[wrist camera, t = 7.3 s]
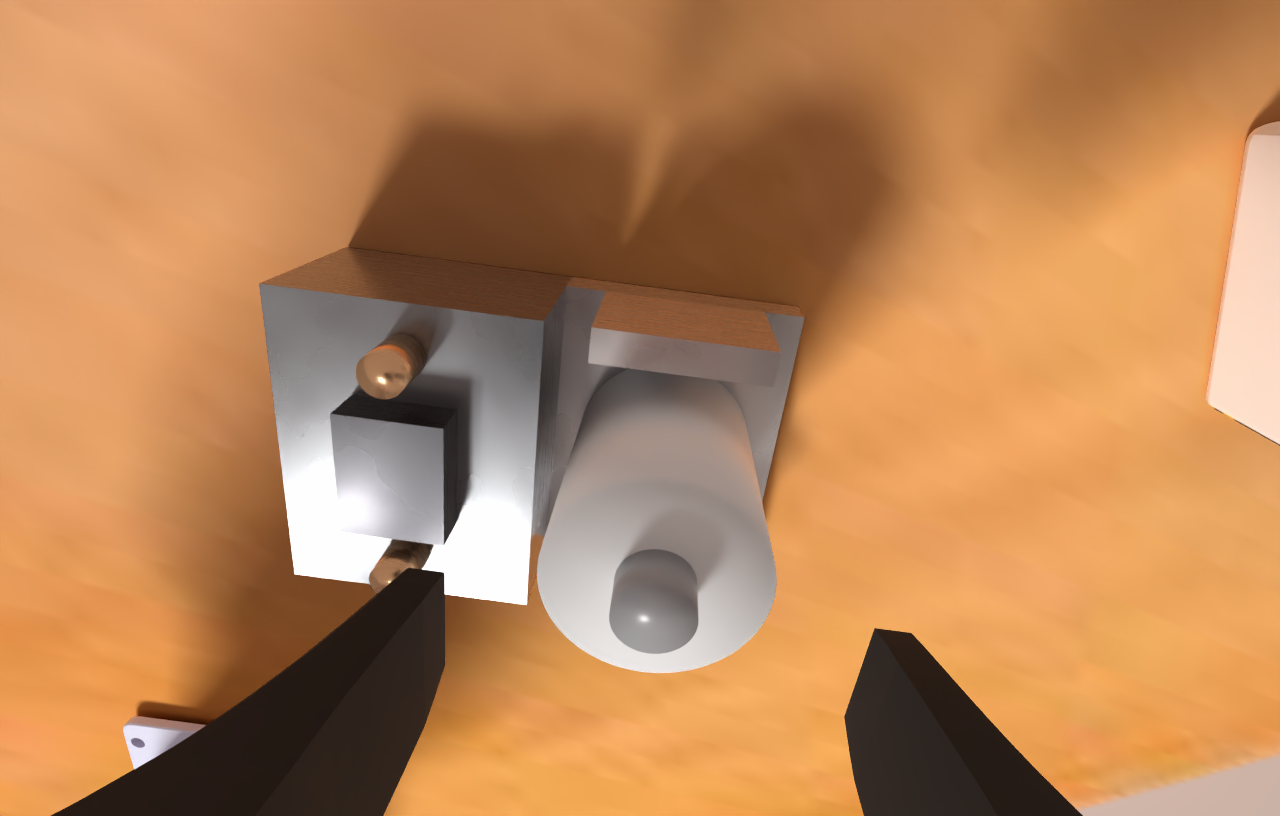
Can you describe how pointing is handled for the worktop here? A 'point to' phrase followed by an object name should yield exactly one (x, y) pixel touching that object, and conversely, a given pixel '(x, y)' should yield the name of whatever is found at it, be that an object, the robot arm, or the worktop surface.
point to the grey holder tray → (475, 403)
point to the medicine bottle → (1252, 296)
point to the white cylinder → (659, 528)
